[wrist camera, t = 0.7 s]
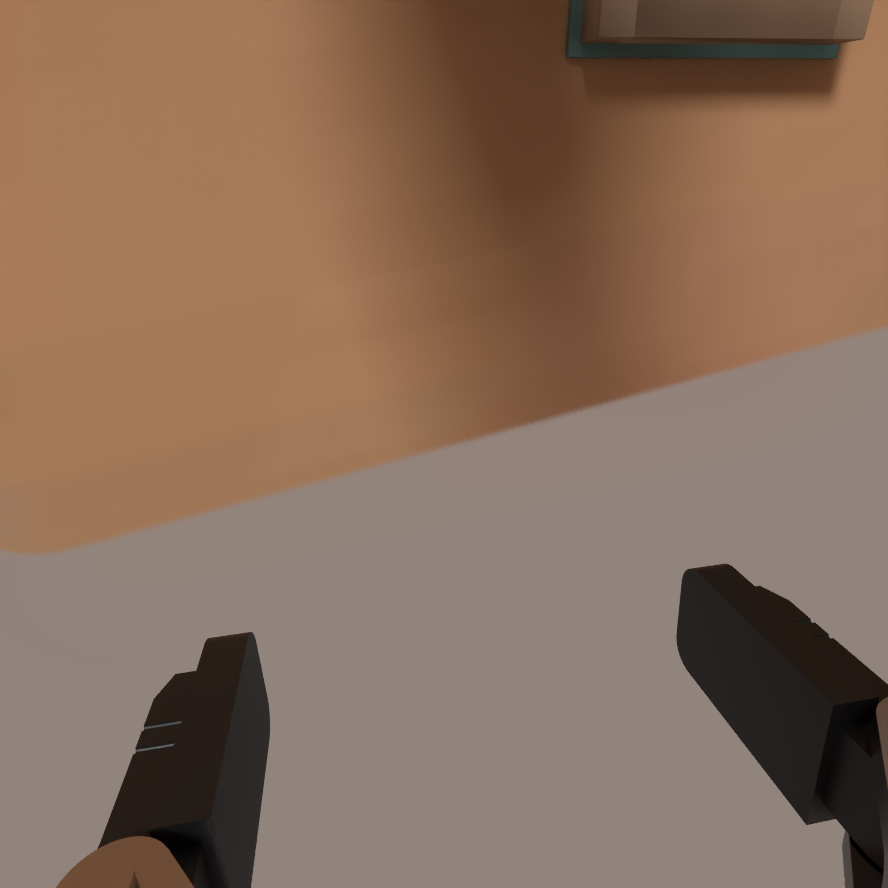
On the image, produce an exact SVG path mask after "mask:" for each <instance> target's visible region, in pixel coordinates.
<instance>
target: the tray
mask: <svg viewBox="0 0 888 888" xmlns="http://www.w3.org/2000/svg"><path fill="white" fill-rule="evenodd" d="M873 1H874V0H570V1H569V16H568V32H567V47H566V58H807V59H833V58H837V55H838V51H839V47H840V43H845V42H850V41H856V40H862V39H864V37H865V33H866V29H867V25H868V21H869V17H870V13H871V9H872V5H873Z"/></svg>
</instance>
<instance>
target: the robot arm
mask: <svg viewBox="0 0 888 888" xmlns="http://www.w3.org/2000/svg"><path fill="white" fill-rule="evenodd" d="M677 646H678V651H679V654H680V657H681V660H682V662H683V664H684V666H685V667H686V669H687V671H688V672H689V673H690V675H691V676H692V677H693V678H694V680H695V681H696V682H697V684H698V685H699V686H700V687H701V689H702V690H703V691H704V693H705V694H706V695H707V696H708V698H709V699H710V700H711V702H712V703H713V704H714V706H715V707H716V708H717V710H718V711H719V712H720V713H721V715H722V716H723V717H724V719H725V720H726V721H727V722H728V723H729V725H730V726H731V727H732V729H733V730H734V732H735V733H736V734H737V735H738V737H739V738H740V739H741V741H742V742H743V743H744V744H745V746H746V747H747V748H748V750H749V751H750V752H751V754H752V755H753V756H754V757H755V759H756V760H757V761H758V763H759V764H760V765H761V767H762V768H763V769H764V770H765V772H766V773H767V774H768V776H769V777H770V778H771V779H772V781H773V782H774V783H775V784H776V786H777V787H778V789H779V790H780V791H781V792H782V794H783V795H784V796H785V797H786V799H787V800H788V801H789V803H790V804H791V805H792V807H793V808H794V809H795V811H796V812H797V813H798V814H799V816H800V817H801V818H802V820H803V821H804V822H805V823H806V825H809V824H814V823H818V822H822V821H828V820H832V819H837V820H838V822H839V823H840V824H841V825H842V826H843V828H844V829H845V834H844V838H843V844H842V845H843V846H842V849H843V850H842V851H843V864H844V877H845V888H888V684H886V683H885V682H884V681H883V680H882V679H881V678H880V677H878V676H877V675H876V674H875V673H874V672H872V671H871V670H870V669H869V668H868V667H867V666H865V665H864V664H863V663H862V662H861V661H859V660H858V659H857V658H856V657H855V656H854V655H852V654H851V653H850V652H849V651H848V650H847V649H845V648H844V647H843V646H842V645H840V644H839V643H838V642H837V641H836V640H835V639H833V638H831V639H830V638H829V634H827V632H825V631H824V630H823V629H822V628H821V627H820V626H818V625H817V624H816V623H812V622H811V620H810V618H809V617H808V616H806V615H805V614H804V613H803V612H802V611H801V610H800V609H798V608H797V607H796V606H795V605H794V604H793V603H791V602H790V601H789V600H787V599H785V598H783V597H781V596H779V595H777V594H775V593H773V592H771V591H769V590H767V589H765V588H763V587H761V586H756V587H755V586H754V585H753V584H752V583H750V582H749V581H748V580H747V579H746V578H745V577H744V576H743V575H741V574H740V573H739V572H738V571H737V570H736V569H735V568H733V567H732V566H730V565H729V564H720V565H713V566H706V567H699V568H692V569H688V570H686V571H685V573H684V575H683V578H682V585H681V595H680V606H679V616H678V626H677ZM269 738H270V714H269V704H268V698H267V693H266V689H265V683H264V678H263V674H262V668H261V663H260V659H259V654H258V649H257V644H256V639H255V636H254V634H253V633H252V632H248V633H241V634H234V635H227V636H221V637H214V638H208V639H207V640H206V642H205V644H204V648H203V651H202V654H201V657H200V661H199V664H198V667H197V671H192V672H186V673H179V674H175V675H174V676H173V678H172V679H171V680H170V681H169V682H168V683H167V685H166V686H165V687H164V688H163V689H162V690H161V691H160V693H159V694H158V695H157V696H156V697H155V698H154V700H153V703H152V706H151V709H150V711H149V714H148V716H147V719H146V722H145V724H144V731H142V732H141V735H140V738H139V740H138V743H137V746H136V753H135V754H133V756H132V759H131V762H130V765H129V767H128V770H127V772H126V775H125V778H124V781H123V783H122V786H121V788H120V791H119V794H118V797H117V799H116V802H115V805H114V807H113V810H112V813H111V815H110V818H109V821H108V823H107V826H106V829H105V831H104V834H103V837H102V839H101V843H100V844H99V847H98V849H97V850H96V851H94V852H92V853H91V854H89V855H88V856H86V857H85V858H84V859H83V860H81V861H80V862H79V863H78V864H77V865H76V866H74V867H73V868H72V869H71V870H70V871H69V872H68V873H67V875H66V876H65V877H64V878H63V879H62V880H61V881H60V883H59V884H58V886H57V887H56V888H251V881H252V873H253V865H254V858H255V849H256V842H257V834H258V826H259V818H260V810H261V802H262V793H263V786H264V778H265V770H266V762H267V754H268V746H269Z"/></svg>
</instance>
